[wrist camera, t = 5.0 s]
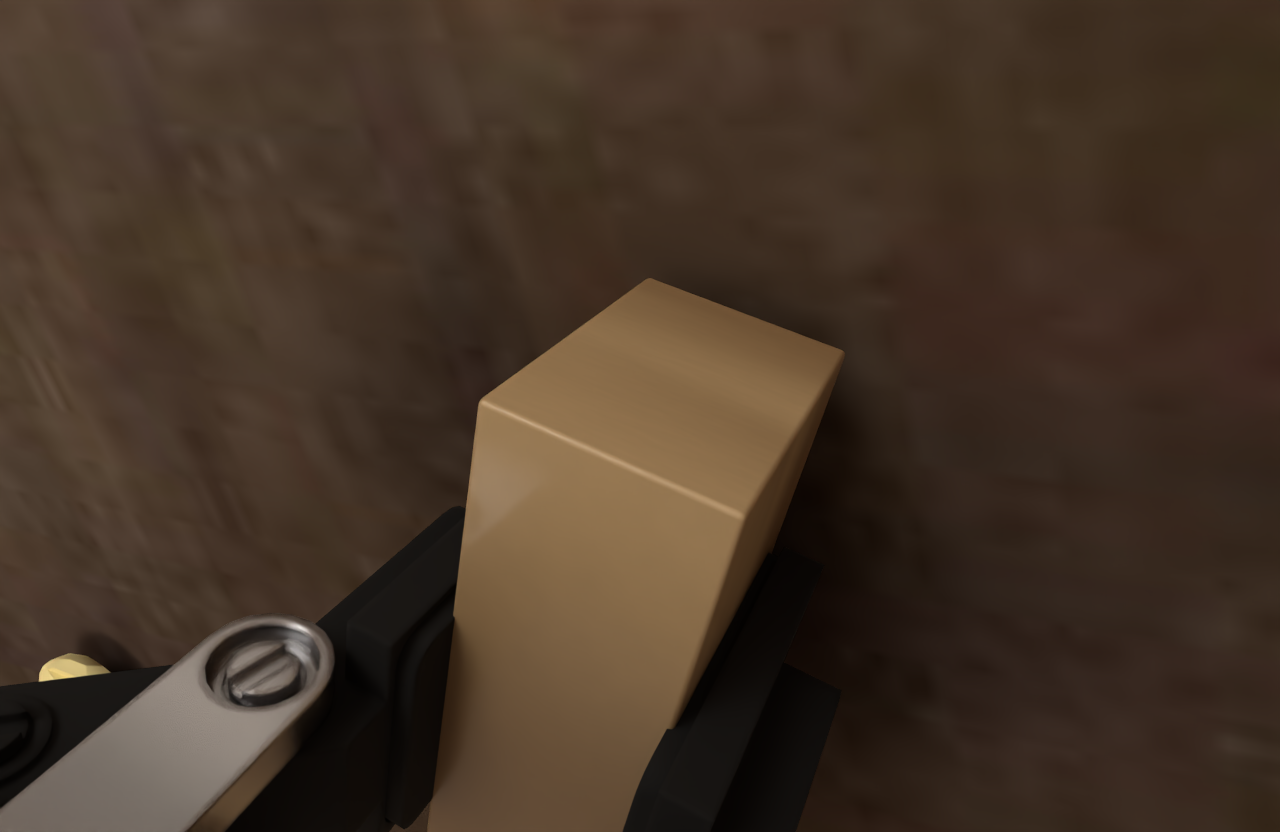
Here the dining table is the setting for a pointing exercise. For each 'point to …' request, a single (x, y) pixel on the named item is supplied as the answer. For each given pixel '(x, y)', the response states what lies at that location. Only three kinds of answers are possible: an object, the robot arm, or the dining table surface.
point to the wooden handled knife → (613, 550)
